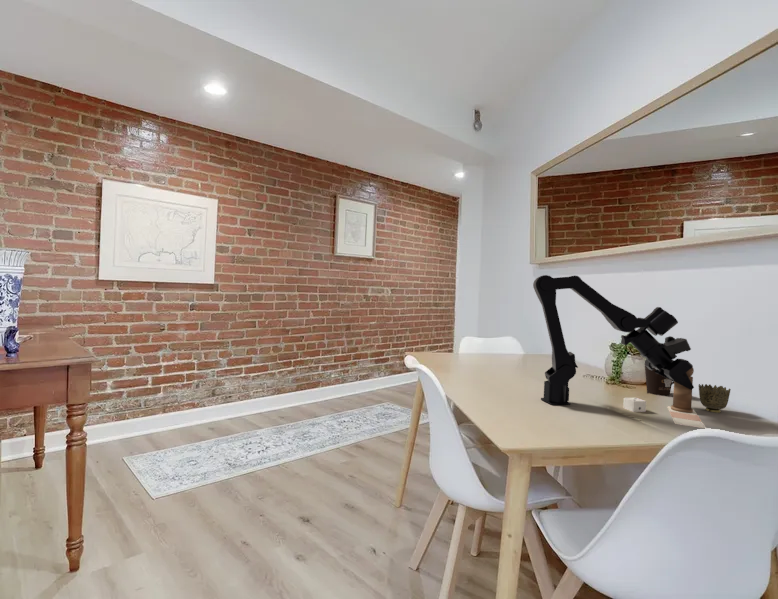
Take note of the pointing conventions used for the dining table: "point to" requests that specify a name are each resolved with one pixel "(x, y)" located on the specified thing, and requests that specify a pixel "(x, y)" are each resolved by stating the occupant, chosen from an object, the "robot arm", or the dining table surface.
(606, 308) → the robot arm
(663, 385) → the coffee mug
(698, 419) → the board
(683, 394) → the pawn
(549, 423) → the dining table surface
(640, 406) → the die
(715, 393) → the cup
